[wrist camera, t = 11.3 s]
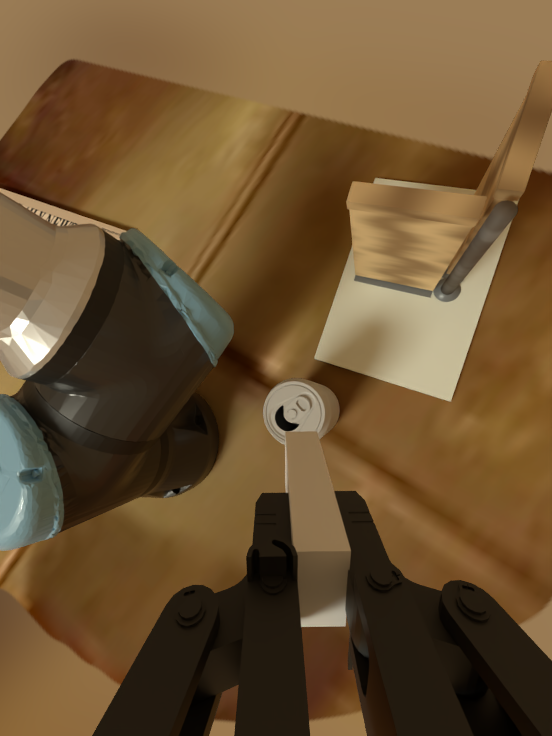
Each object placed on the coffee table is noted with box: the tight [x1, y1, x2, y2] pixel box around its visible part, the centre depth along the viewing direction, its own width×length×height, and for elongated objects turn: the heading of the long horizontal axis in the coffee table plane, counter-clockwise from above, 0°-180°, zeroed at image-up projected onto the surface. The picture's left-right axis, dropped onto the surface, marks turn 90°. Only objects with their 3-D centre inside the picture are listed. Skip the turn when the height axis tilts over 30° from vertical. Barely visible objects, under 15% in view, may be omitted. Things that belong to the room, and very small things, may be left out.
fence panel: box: [346, 181, 518, 295], centre depth 29 cm, size 11×2×15 cm, turn 72°
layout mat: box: [314, 178, 519, 401], centre depth 36 cm, size 16×24×1 cm, turn 161°
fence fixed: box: [446, 61, 552, 274], centre depth 28 cm, size 9×2×15 cm, turn 161°
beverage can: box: [263, 378, 340, 445], centre depth 33 cm, size 6×6×12 cm
